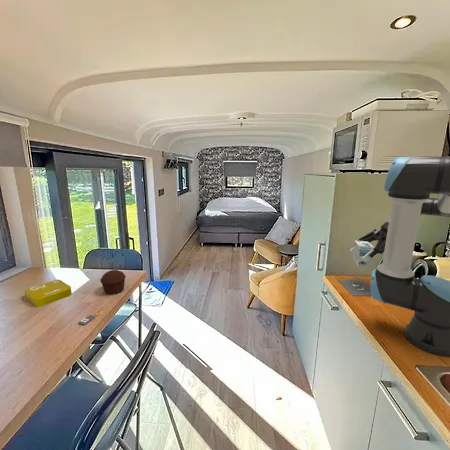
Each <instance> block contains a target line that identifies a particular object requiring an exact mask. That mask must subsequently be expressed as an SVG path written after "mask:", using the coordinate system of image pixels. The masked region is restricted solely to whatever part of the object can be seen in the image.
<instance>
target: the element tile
mask: <svg viewBox="0 0 450 450" xmlns="http://www.w3.org/2000/svg"><path fill="white" fill-rule="evenodd" d="M24 296H25V300H26V301H28V302H29V303H30V305H32V306H33V307H35V308H40V307H43V306H46V305H49V304H52V303H54V302H57V301H59V300H64V299H65V298H68V297H70V296H72V287H71V285H69V284H67V283H66V282H64V281H63V280H61V279H55V280H51V281H48V282H45V283H40V284H38V285H35V286H31V287H28V288H26V289H24Z"/></svg>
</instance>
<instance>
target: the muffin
mask: <svg viewBox="0 0 450 450" xmlns="http://www.w3.org/2000/svg"><path fill="white" fill-rule="evenodd" d="M126 278H127V277H126V274H125V273H124V272H123V271H121V270H118V269H112V270H109V271H107V272H105V273H104V274H103V275H102V277H101V278H100V279H99V280H100V283H101V285H102V288H103V292H104V293H105V295H109V296H111V295H112V296H113V295H118V294H120V293H122V292H123V291H124V290H125V280H126Z"/></svg>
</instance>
